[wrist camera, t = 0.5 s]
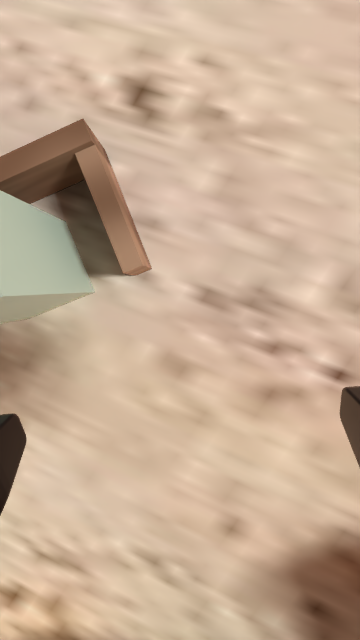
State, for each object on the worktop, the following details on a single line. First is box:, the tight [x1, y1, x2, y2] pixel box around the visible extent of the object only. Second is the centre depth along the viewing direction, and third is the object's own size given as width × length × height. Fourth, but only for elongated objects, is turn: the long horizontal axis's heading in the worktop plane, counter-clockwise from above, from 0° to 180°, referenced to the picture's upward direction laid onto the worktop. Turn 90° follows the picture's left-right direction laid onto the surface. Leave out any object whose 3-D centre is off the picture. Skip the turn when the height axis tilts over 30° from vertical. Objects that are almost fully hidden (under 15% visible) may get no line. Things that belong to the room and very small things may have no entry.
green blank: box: [0, 190, 95, 324], centre depth 17 cm, size 5×5×10 cm
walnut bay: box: [0, 119, 152, 275], centre depth 20 cm, size 8×13×4 cm, turn 111°
